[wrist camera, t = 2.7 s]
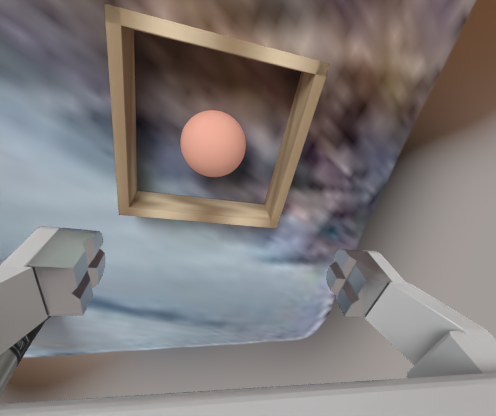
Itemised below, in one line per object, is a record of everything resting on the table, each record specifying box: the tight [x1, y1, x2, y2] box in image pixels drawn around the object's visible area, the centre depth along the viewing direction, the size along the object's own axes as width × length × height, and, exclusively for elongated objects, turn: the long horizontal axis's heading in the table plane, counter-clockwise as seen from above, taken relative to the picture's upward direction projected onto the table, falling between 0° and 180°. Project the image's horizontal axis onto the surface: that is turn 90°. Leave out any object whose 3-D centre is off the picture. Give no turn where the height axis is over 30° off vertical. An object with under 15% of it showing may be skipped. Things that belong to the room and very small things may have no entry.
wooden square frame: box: [104, 4, 330, 228], centre depth 20 cm, size 14×14×3 cm
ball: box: [181, 110, 246, 177], centre depth 19 cm, size 5×5×5 cm
